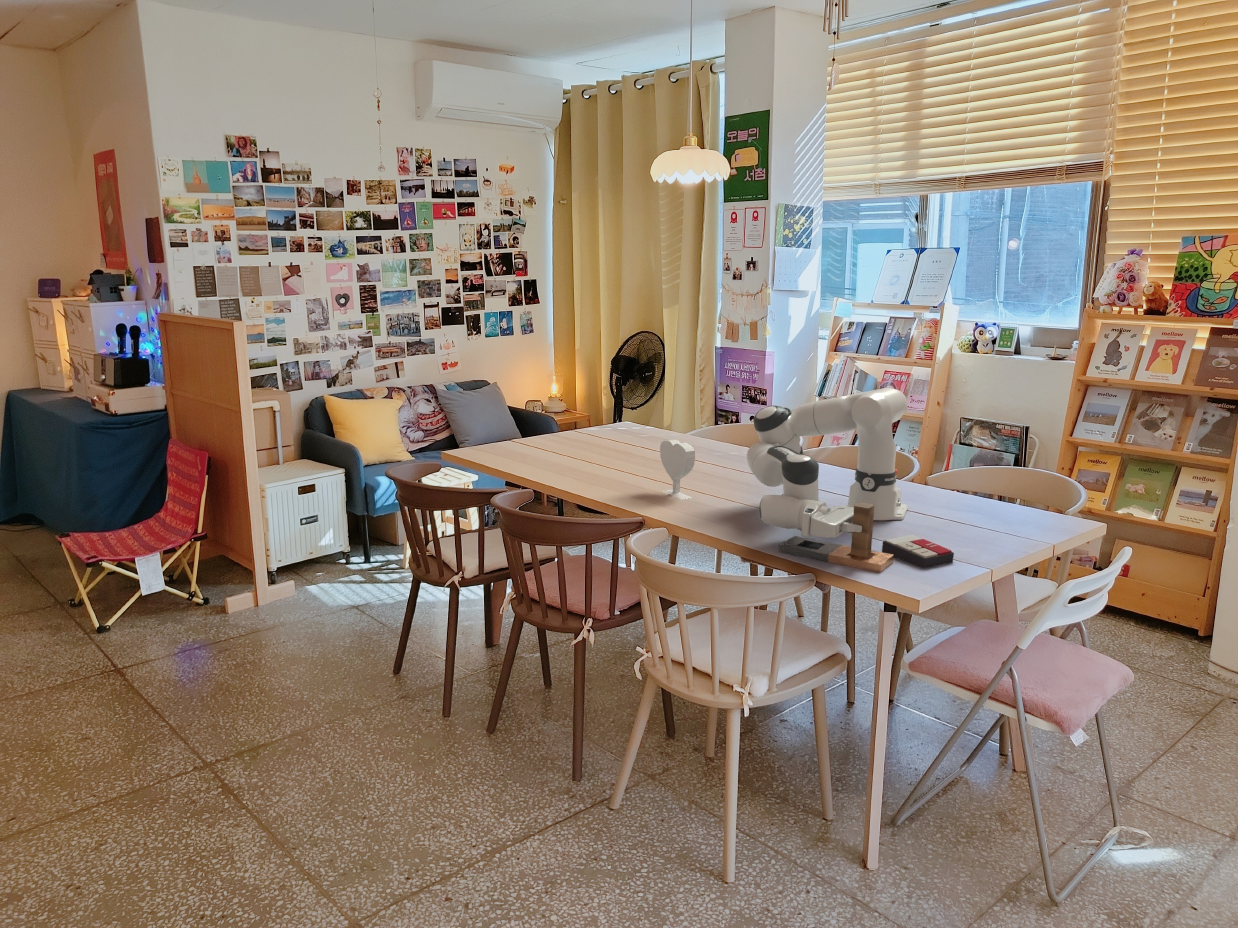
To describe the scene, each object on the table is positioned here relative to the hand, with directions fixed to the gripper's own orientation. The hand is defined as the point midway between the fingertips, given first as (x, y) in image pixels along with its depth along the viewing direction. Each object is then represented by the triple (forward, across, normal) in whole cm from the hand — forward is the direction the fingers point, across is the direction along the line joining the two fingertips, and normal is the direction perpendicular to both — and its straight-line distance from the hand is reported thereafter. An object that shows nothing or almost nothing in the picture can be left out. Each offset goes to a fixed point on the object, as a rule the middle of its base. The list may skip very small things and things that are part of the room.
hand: (866, 526), depth 234 cm
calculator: (+10, -13, -10) cm, 19 cm away
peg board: (-8, 0, -10) cm, 13 cm away
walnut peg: (-1, 0, -8) cm, 8 cm away
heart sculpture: (-76, -31, -10) cm, 83 cm away
